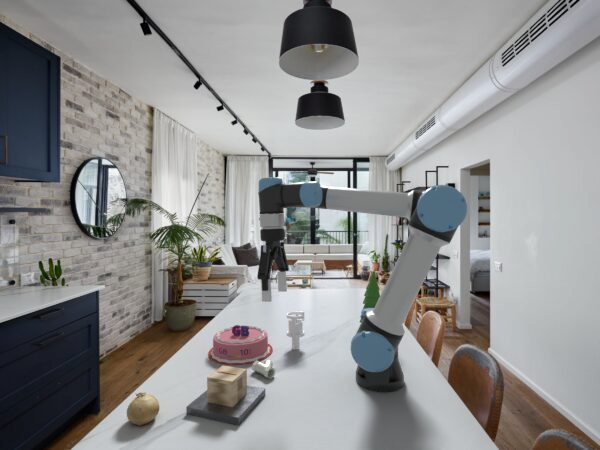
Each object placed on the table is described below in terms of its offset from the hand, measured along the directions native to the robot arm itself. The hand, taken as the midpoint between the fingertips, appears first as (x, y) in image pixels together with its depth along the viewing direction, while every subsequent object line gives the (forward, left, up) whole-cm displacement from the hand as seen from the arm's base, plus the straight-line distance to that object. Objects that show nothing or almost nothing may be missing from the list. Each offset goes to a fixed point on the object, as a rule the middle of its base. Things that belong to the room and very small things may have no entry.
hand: (275, 296), depth 111 cm
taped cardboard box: (+9, +14, -26) cm, 31 cm away
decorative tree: (-22, -50, -29) cm, 61 cm away
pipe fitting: (+6, -7, -29) cm, 30 cm away
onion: (+26, +28, -29) cm, 48 cm away
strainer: (+5, -31, -29) cm, 42 cm away
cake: (+24, -21, -29) cm, 43 cm away
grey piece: (+9, +14, -28) cm, 33 cm away
